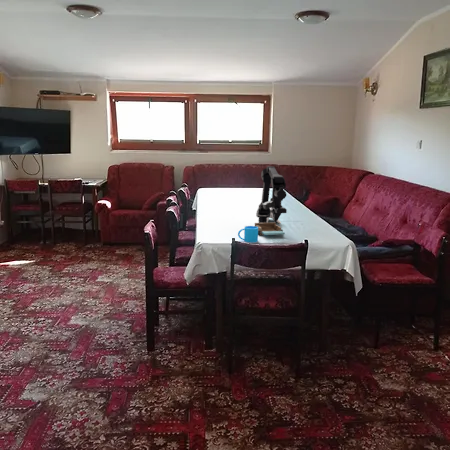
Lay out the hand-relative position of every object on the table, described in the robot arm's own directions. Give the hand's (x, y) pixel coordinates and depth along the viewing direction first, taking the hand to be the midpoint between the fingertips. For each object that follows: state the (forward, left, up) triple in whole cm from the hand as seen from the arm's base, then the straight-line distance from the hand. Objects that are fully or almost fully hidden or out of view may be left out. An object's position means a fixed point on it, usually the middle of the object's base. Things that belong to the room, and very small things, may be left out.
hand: (275, 222), depth 255 cm
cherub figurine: (-45, +14, -10) cm, 48 cm away
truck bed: (-12, 0, -10) cm, 16 cm away
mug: (+5, -19, -10) cm, 22 cm away
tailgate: (-6, 0, -8) cm, 10 cm away
